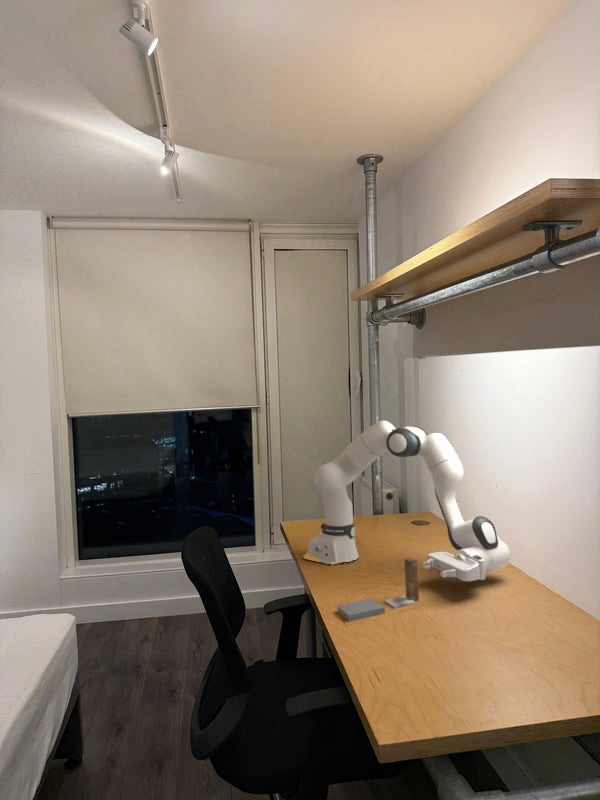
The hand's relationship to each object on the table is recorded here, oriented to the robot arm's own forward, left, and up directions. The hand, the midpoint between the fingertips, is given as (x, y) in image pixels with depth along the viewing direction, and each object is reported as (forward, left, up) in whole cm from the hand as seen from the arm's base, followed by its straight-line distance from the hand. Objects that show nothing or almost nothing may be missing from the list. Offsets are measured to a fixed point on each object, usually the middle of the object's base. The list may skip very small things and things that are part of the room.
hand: (432, 570), depth 182 cm
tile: (-13, -16, -7) cm, 22 cm away
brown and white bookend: (-7, -9, -8) cm, 14 cm away
